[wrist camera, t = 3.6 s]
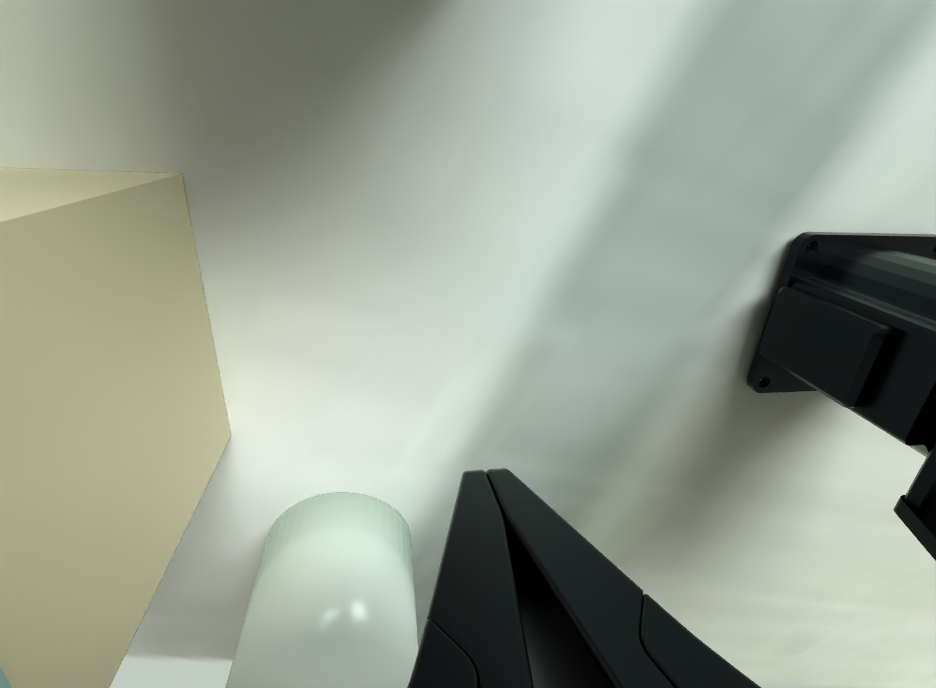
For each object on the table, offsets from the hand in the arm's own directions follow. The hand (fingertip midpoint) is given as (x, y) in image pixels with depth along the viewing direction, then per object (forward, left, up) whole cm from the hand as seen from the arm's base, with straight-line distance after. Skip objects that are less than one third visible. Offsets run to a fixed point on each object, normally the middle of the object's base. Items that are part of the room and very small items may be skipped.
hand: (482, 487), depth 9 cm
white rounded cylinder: (+4, +10, -9) cm, 14 cm away
